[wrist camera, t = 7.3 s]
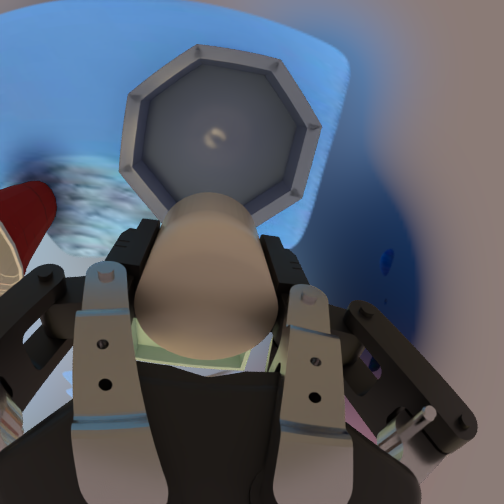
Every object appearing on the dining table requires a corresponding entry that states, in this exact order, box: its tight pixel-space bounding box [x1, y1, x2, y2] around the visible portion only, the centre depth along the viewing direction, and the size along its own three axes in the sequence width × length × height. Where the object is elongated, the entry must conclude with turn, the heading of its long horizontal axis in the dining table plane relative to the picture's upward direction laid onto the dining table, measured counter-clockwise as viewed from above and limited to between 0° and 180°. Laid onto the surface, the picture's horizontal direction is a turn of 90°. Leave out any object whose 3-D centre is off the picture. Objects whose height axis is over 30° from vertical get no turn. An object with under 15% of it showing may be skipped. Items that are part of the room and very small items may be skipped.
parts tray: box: [131, 318, 251, 371], centre depth 32 cm, size 16×16×3 cm
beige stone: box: [134, 192, 278, 360], centre depth 10 cm, size 4×4×5 cm
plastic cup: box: [0, 181, 57, 296], centre depth 19 cm, size 11×11×12 cm
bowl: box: [119, 44, 322, 227], centre depth 22 cm, size 16×16×4 cm
